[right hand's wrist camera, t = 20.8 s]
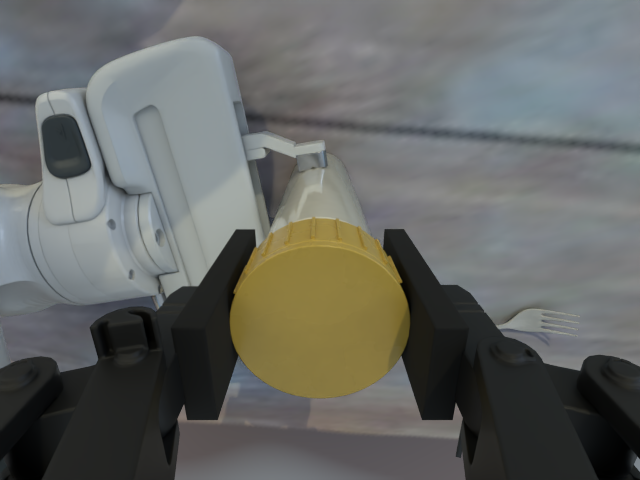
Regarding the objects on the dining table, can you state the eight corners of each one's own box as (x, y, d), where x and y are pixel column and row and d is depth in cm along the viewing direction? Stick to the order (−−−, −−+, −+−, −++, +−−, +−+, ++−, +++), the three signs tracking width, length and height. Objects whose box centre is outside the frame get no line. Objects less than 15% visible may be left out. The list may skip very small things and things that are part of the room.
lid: (416, 233, 11) (439, 264, 9) (373, 362, 13) (383, 412, 11) (255, 199, 11) (239, 223, 9) (234, 337, 13) (217, 385, 11)
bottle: (283, 194, 29) (224, 340, 11) (304, 142, 28) (277, 214, 10) (333, 216, 30) (354, 386, 12) (357, 166, 29) (422, 274, 11)
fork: (395, 327, 34) (399, 340, 32) (565, 302, 33) (580, 314, 31) (397, 349, 35) (402, 363, 33) (563, 325, 34) (578, 338, 32)
